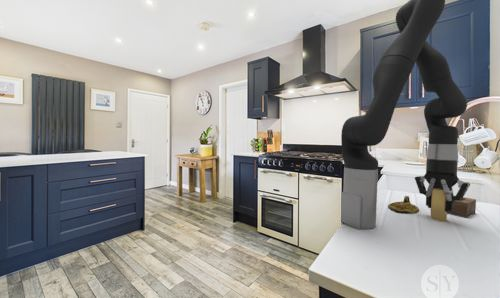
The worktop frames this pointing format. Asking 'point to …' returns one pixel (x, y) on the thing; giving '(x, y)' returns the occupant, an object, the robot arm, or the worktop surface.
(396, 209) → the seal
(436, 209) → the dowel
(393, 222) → the worktop surface
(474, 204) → the socket block
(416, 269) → the worktop surface
